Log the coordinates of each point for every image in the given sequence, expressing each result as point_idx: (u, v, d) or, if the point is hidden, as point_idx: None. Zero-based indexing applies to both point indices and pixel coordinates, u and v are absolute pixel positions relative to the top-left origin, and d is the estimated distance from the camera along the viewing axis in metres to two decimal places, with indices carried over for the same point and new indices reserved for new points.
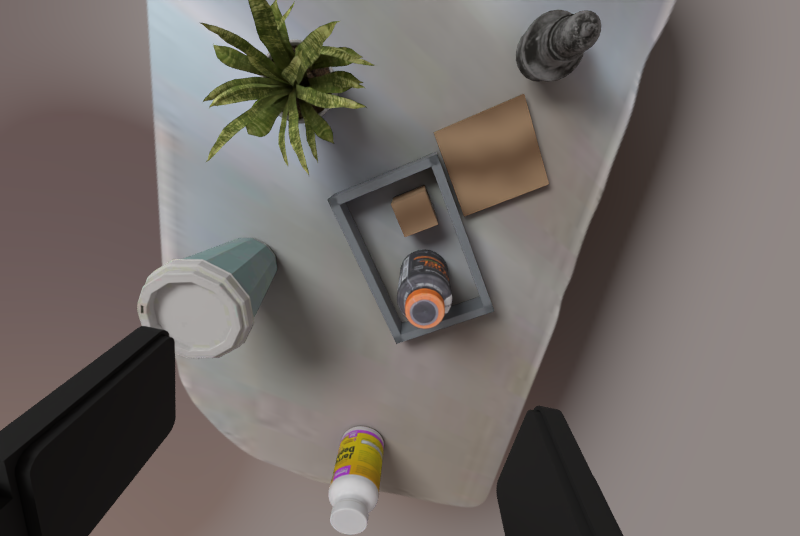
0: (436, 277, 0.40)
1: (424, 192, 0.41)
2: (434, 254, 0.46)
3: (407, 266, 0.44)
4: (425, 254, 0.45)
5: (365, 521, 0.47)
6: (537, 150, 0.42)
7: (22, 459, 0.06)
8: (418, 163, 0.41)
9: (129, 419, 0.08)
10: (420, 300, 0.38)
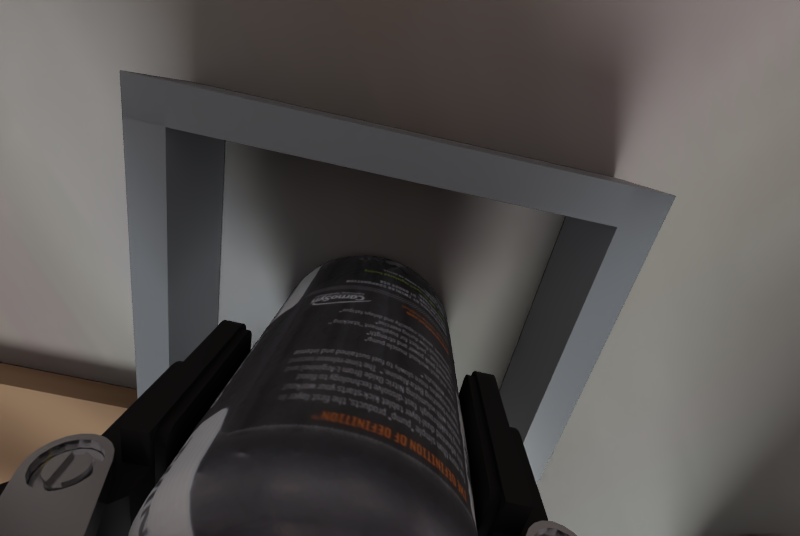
0: None
1: None
2: None
3: None
4: None
5: None
6: None
7: (159, 433, 0.07)
8: None
9: None
10: None
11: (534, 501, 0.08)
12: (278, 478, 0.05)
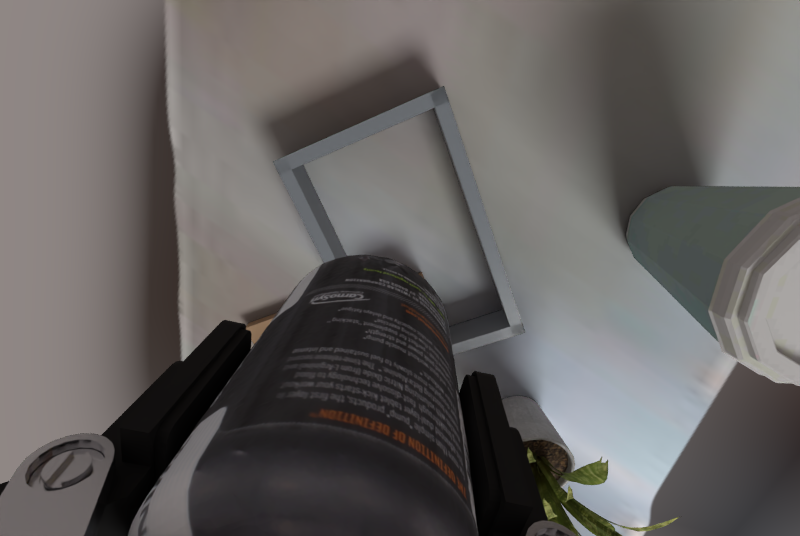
0: None
1: None
2: None
3: None
4: None
5: None
6: None
7: (159, 433, 0.07)
8: None
9: None
10: None
11: (534, 501, 0.08)
12: (276, 476, 0.05)
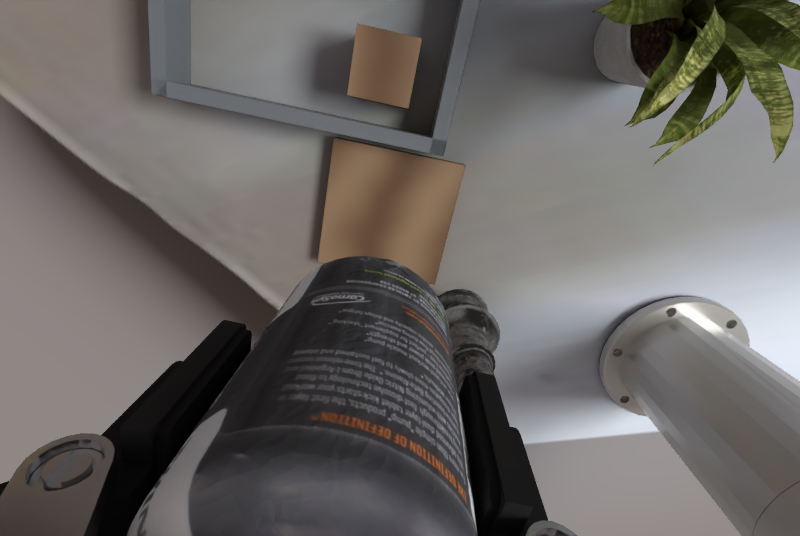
0: None
1: (406, 105, 0.25)
2: None
3: None
4: None
5: None
6: None
7: (159, 433, 0.07)
8: (448, 123, 0.26)
9: None
10: None
11: (535, 501, 0.08)
12: (277, 479, 0.05)
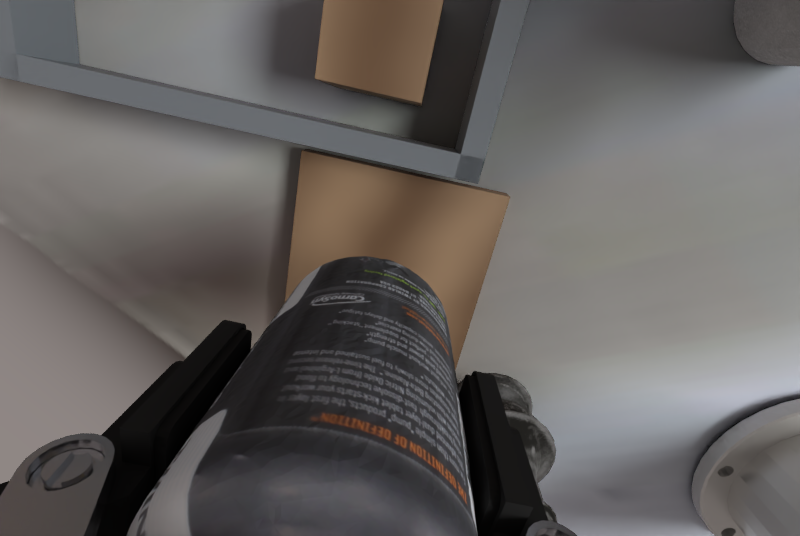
0: None
1: (417, 97, 0.14)
2: None
3: None
4: None
5: None
6: None
7: (159, 433, 0.07)
8: (489, 128, 0.15)
9: None
10: None
11: (534, 501, 0.08)
12: (277, 480, 0.05)
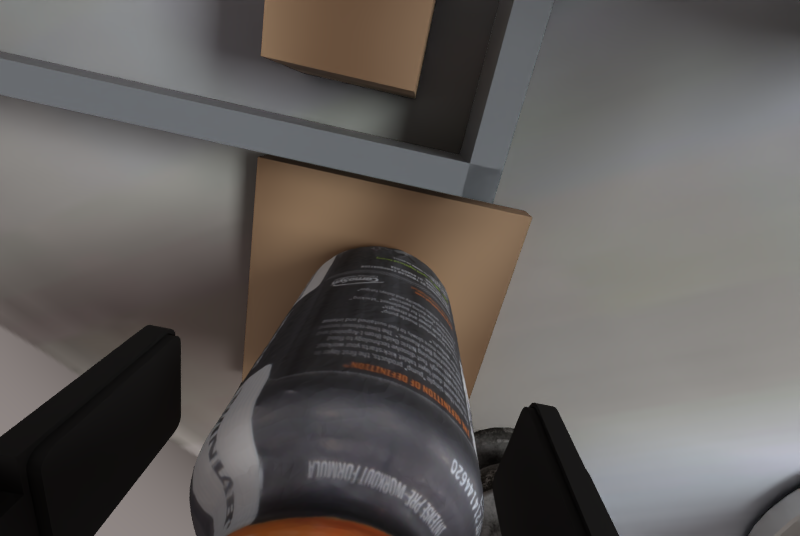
0: None
1: (409, 84, 0.10)
2: None
3: None
4: None
5: None
6: None
7: (33, 456, 0.06)
8: (509, 128, 0.11)
9: (136, 417, 0.08)
10: None
11: None
12: (321, 406, 0.06)
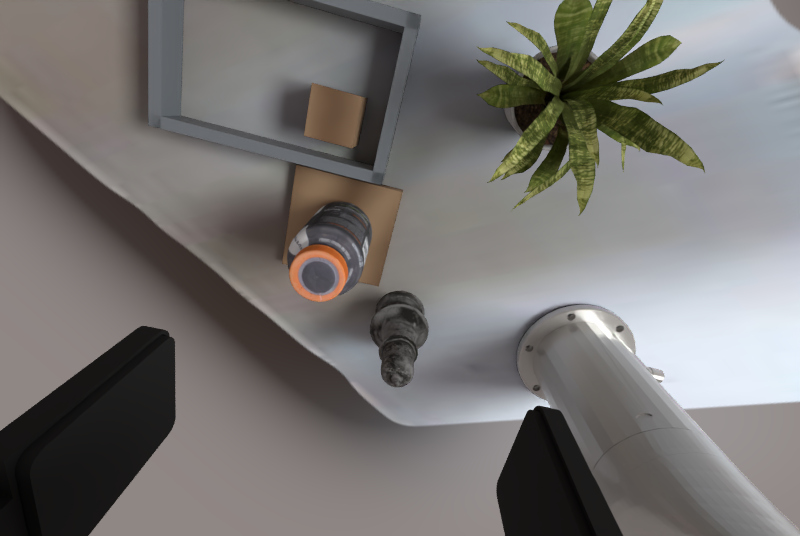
0: None
1: (350, 146, 0.31)
2: None
3: None
4: None
5: None
6: None
7: (22, 459, 0.06)
8: (385, 160, 0.33)
9: (129, 419, 0.08)
10: (313, 294, 0.27)
11: None
12: (322, 227, 0.28)
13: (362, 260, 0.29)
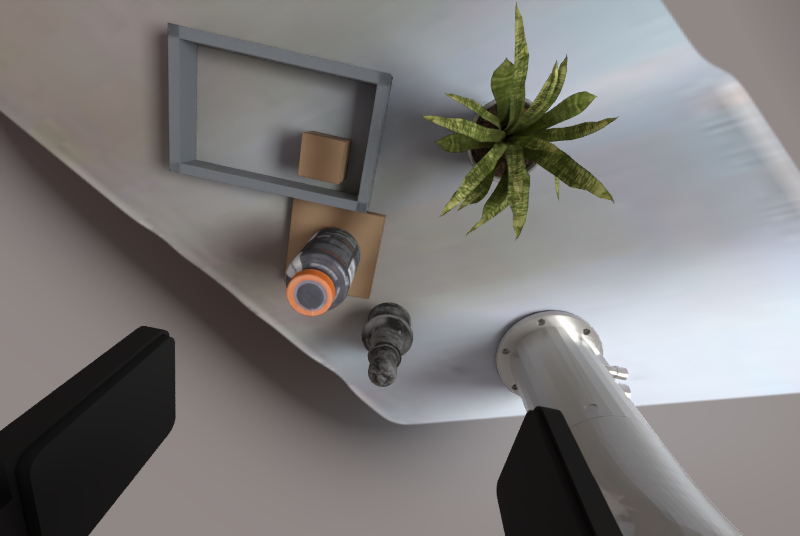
0: None
1: (337, 182, 0.37)
2: None
3: None
4: None
5: None
6: None
7: (22, 459, 0.06)
8: (367, 192, 0.38)
9: (129, 419, 0.08)
10: (307, 310, 0.33)
11: None
12: (313, 254, 0.34)
13: (348, 280, 0.35)
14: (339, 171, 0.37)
